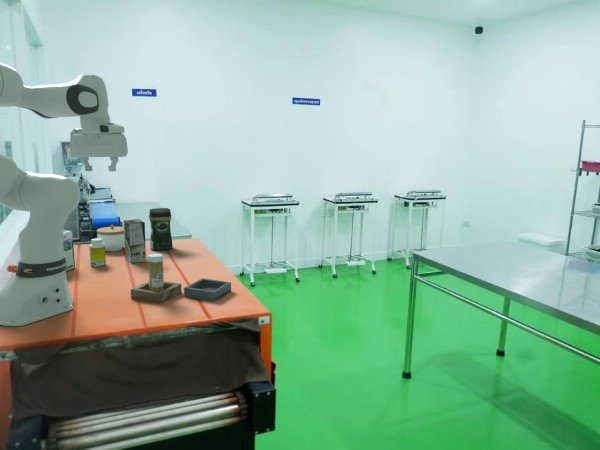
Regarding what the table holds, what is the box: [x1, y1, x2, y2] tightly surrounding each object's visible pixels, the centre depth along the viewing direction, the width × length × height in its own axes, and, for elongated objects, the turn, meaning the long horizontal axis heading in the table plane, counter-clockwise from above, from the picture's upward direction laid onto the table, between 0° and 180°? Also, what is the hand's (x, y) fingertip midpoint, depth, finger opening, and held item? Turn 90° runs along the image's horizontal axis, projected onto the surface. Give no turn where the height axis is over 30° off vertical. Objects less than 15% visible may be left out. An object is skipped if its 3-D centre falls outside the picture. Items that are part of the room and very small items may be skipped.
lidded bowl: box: [96, 224, 125, 252], centre depth 200 cm, size 13×13×11 cm
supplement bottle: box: [88, 237, 107, 267], centre depth 175 cm, size 6×6×10 cm
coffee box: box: [122, 218, 147, 264], centre depth 183 cm, size 9×6×16 cm
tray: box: [183, 277, 232, 303], centre depth 147 cm, size 11×11×3 cm
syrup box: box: [63, 229, 76, 272], centre depth 168 cm, size 6×6×14 cm
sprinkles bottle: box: [147, 253, 165, 292], centre depth 143 cm, size 5×5×13 cm
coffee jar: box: [148, 207, 173, 251], centre depth 202 cm, size 10×8×19 cm
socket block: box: [130, 280, 182, 304], centre depth 144 cm, size 11×11×3 cm
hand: (100, 171), depth 148 cm, fingers open, 8 cm apart
